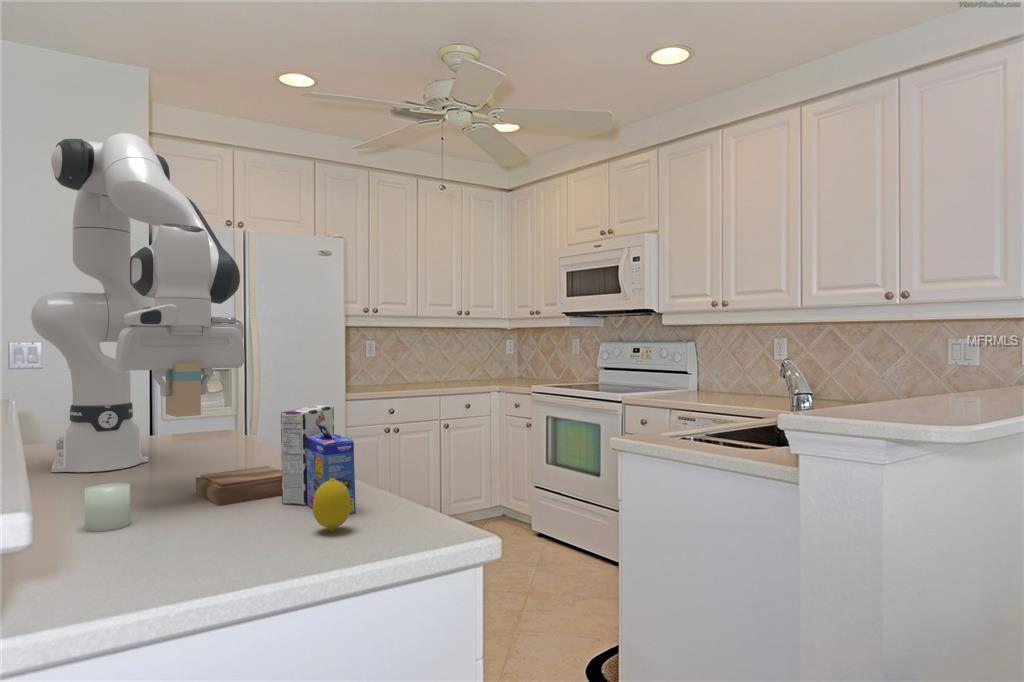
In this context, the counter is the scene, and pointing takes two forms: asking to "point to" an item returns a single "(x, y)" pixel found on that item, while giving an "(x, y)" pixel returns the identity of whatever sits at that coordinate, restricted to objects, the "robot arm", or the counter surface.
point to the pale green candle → (107, 507)
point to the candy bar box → (300, 447)
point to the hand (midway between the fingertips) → (183, 395)
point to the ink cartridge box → (330, 463)
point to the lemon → (331, 504)
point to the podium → (240, 485)
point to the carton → (184, 389)
